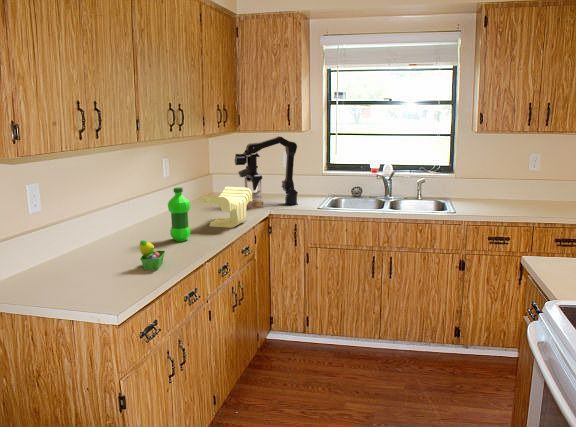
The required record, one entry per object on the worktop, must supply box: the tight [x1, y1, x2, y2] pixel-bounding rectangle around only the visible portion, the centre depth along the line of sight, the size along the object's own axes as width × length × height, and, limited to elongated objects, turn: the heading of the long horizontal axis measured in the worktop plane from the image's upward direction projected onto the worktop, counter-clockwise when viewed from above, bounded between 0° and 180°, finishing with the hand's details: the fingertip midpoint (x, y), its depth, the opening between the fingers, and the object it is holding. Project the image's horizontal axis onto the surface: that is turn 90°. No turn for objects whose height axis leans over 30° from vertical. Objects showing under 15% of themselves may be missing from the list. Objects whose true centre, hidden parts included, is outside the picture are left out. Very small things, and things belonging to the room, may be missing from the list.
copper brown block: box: [246, 199, 264, 210], centre depth 330 cm, size 10×10×4 cm
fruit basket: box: [139, 239, 166, 271], centre depth 212 cm, size 11×9×11 cm
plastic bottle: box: [167, 187, 191, 242], centre depth 251 cm, size 10×10×25 cm
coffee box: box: [244, 178, 262, 201], centre depth 348 cm, size 9×6×16 cm
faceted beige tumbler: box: [247, 180, 258, 193], centre depth 328 cm, size 7×7×7 cm
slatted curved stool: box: [200, 186, 252, 229], centre depth 283 cm, size 30×16×18 cm, turn 162°
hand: (252, 189), depth 329 cm, fingers closed on faceted beige tumbler, 6 cm apart
